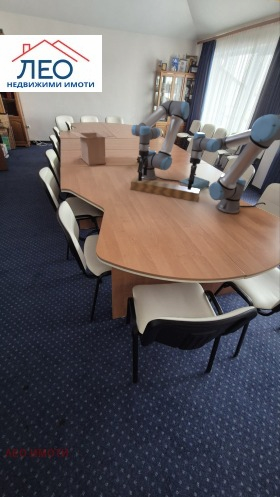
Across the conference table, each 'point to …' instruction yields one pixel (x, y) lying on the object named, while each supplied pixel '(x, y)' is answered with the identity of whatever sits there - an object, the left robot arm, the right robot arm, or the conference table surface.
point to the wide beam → (165, 189)
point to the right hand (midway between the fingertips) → (190, 186)
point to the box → (92, 146)
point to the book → (195, 183)
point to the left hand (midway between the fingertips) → (142, 178)
